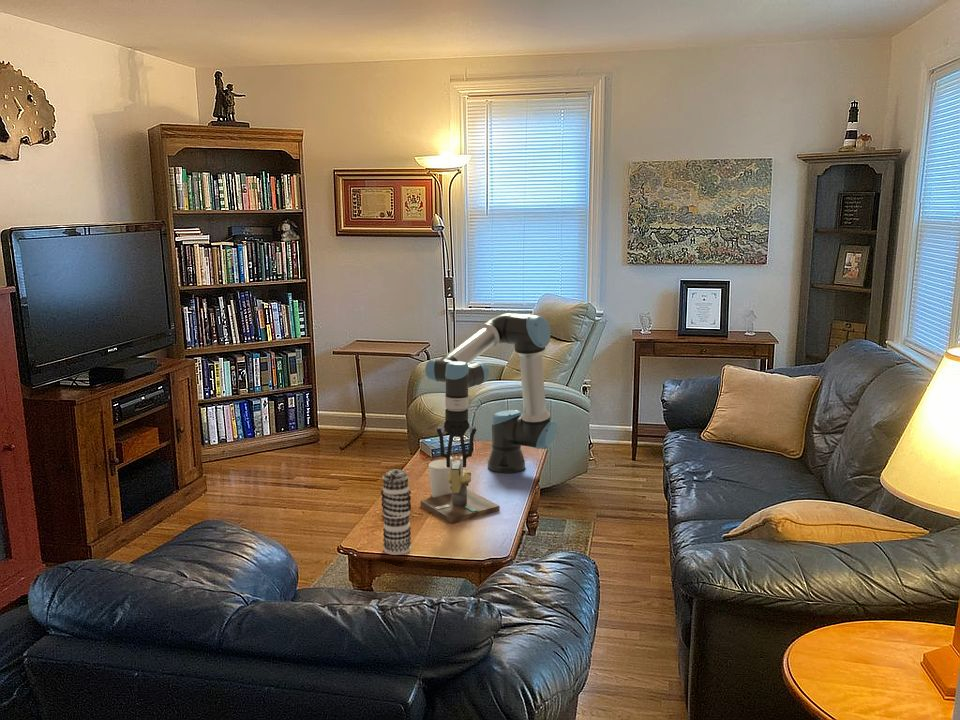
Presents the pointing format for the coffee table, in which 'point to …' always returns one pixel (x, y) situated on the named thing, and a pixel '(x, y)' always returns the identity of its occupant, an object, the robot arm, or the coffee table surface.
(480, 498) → the post plinth
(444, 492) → the candle holder
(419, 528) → the coffee table surface
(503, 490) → the coffee table surface
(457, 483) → the cap
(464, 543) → the coffee table surface
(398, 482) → the decorative candle
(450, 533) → the coffee table surface
